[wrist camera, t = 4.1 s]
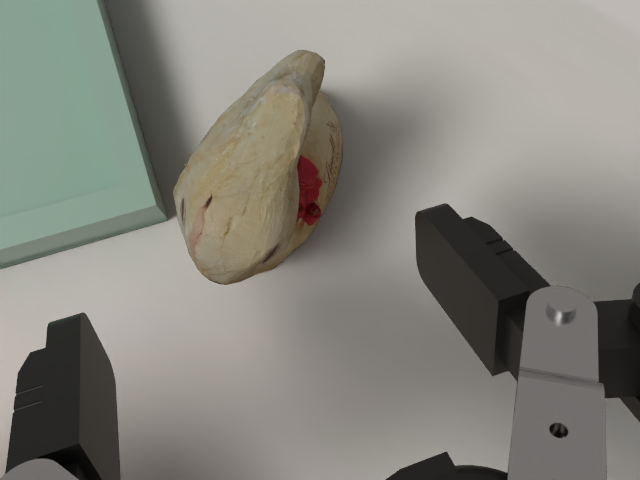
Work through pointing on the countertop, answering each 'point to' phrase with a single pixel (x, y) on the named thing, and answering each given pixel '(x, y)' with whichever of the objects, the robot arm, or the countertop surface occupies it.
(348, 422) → the countertop surface
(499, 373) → the robot arm
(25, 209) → the tray
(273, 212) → the chocolate bunny
